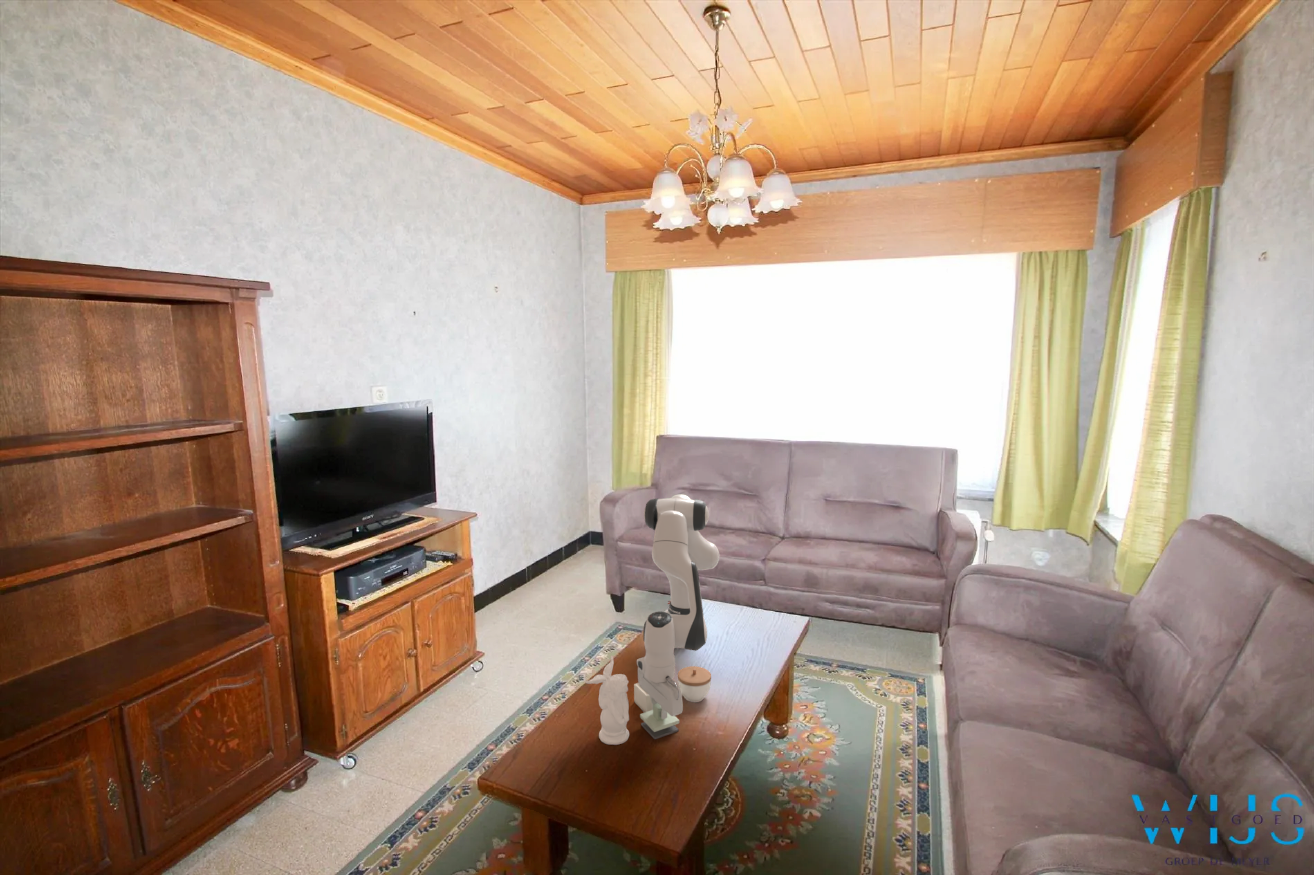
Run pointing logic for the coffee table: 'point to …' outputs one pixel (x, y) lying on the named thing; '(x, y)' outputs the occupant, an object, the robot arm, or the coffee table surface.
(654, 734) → the mat
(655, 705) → the lid
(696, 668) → the lidded jar
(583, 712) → the coffee table surface
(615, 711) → the white tall figurine
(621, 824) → the coffee table surface
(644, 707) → the cream box
